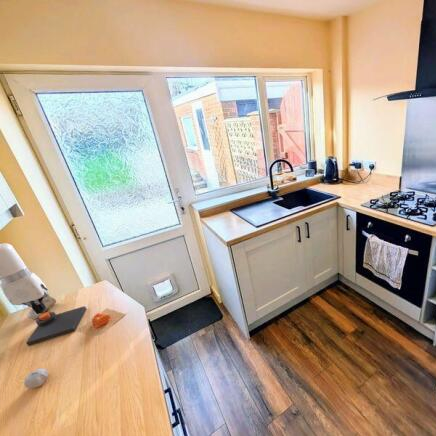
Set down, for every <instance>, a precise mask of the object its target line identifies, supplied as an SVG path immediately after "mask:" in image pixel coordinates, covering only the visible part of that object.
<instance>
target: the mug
mask: <svg viewBox="0 0 436 436" xmlns="http://www.w3.org/2000/svg"><path fill="white" fill-rule="evenodd" d="M42 302H43V303H44V305H45V306H46V309H45V310H44V311H43V313H46V312H48V313H50V312H51V310H52V308H53V307H54V306H55V305H56V303H57V300H56V299H55V298H54V297H52V296H50V295H49V296H48V297H46V298H44V299H43V300H42ZM43 313H39V314H37V313H36V312H35V311H34V310H33V309H32V308H31V309H30V310H29V311H28V313H27V314H26V316H27V318H29V319H30V320H37V319H38V318H39V316H40V315H41V314H43Z"/></svg>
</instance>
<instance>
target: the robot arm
mask: <svg viewBox="0 0 436 436" xmlns="http://www.w3.org/2000/svg"><path fill="white" fill-rule="evenodd" d="M0 288H1V290H2V292H3V294H4V296H5V298H6V300H7V301H8V302H9V304H11V305H12V306H22V305H23V306H27V307H28V308H31V309H33V310H34V311H35V312H36V313H37V314H39V313H42V314H43V313H44V312H43V311H44V310H45V309H46V306H45V305H44V303H43V302H42V300H43V299H44V298H46V297H48V296H50V295H51V293H50V292H49V290H48V287H47V286H46V284H45V283H44V281H42V279H41V278H40V277H39V276H38V275H37V274H36V273H34V272H33V271H31V270H30V269H29V268H28V266H27V265H26V264H25V262H24V261H23V259H22V258H21V256H20V254H18V252H17V251H16V249H15V248H14V246H13V245H12V244H10V243H6V242H5V243H0Z"/></svg>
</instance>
